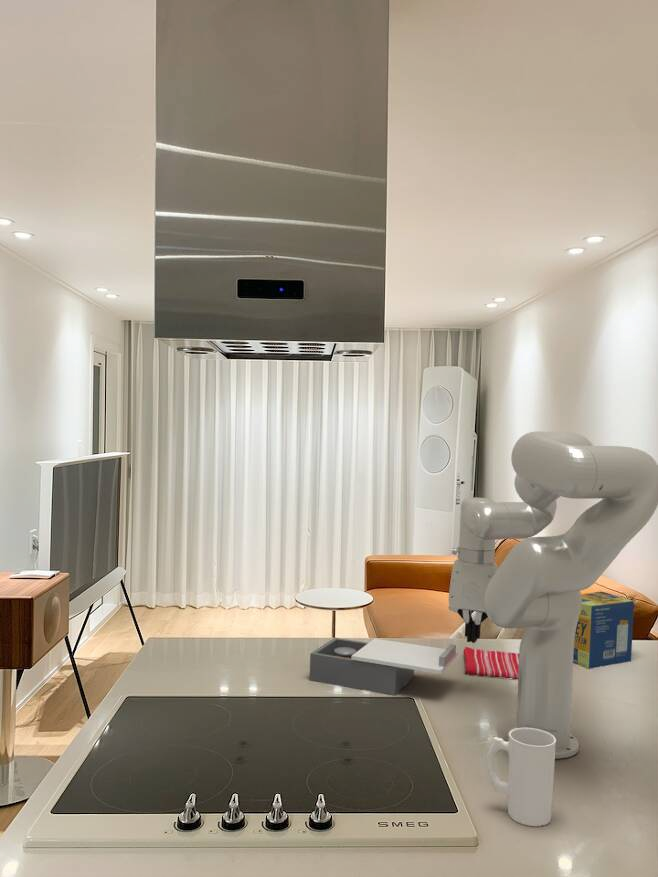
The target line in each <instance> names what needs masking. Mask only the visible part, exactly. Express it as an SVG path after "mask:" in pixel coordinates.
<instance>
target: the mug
mask: <svg viewBox="0 0 658 877" xmlns="http://www.w3.org/2000/svg"><path fill="white" fill-rule="evenodd" d="M555 743H556V738H555V737H554V736H553V735H552V734H550V733H548V732H546V731H543V730H540V729H535V728H516V729H513V730H511V731H510V732H509V741H508V740H507V741H505V740H504V738H501V737H498V736H494V738H493V742H492V743H491V745H490V747H489V748H488V751H487V754H486V758H485V759H486V760H485V764H486V770H487V774H488V777H489V780H490V783H491V786H492V789H493V791H494V792H497V793H498V792H499V793H502V794H504V795H506V797H507V798H508V799H507V800H508V801H507V802H508V804H507V810H508V811H507V813H508V815H509V817H510V818H511V819H512V821H515V822H516V823H518V824H520V825H524V826H528V827H543V826H547V825H548V824H549V823H550V822H551V820H552V812H553V809H552V808H553V797H554V794H553V793H554V776H555V761H556V759H555ZM501 750H504V751H506V752H507V753H508V781H503V780H500V778H499V777H498V776H497V774H496V770H495V767H494V758H495V755H496V753H498V751H501ZM542 825H543V826H542Z"/></svg>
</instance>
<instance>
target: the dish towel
mask: <svg viewBox="0 0 658 877" xmlns="http://www.w3.org/2000/svg"><path fill="white" fill-rule="evenodd" d="M462 652H463V656H464V662H465V664H464V670H465V671H464V675H466V674H469V675H468V676H474V675H478V676H477V677H483V676H489V677H488V678H494V677H505V678H512V679H511V680H516V679H518V670H519V652H518V653H517V652H508V651H498V650H485V649H477V648H472V647H468V646H465V647H464V649H463V651H462Z"/></svg>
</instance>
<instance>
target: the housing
mask: <svg viewBox="0 0 658 877" xmlns="http://www.w3.org/2000/svg"><path fill="white" fill-rule="evenodd" d="M368 643H369V642H364V641H358V640H352V639H346V638H345V639H344V638H339V637H333V638H332V639H330V640H329V641H327V642H326V643H324V644H323V645H321V646H320V647H318V648H317V649H315V650H314V651H312V652H310V654H309V656H310V657H309V658H310V659H309V681H312V682H317V683H322V684H329V685H334V686H335V685H336V686H340V687H345V688H352V689H356V690H362V691H369V692H374V693H379V694H384V695H388V696H389V695H390V696H391V695H392V696H396V695H397V694H398V693H399V692H400V691H401V690H402V689H403V688H404V686H406V685H407V684H408V683H409V681H410V680H412V678H413V677H414V676H415V670H412V669H406V668H400V667H394V666H388V665H382V664H376V663H370V662H363V661H357V660H351V659H350V658H344V657H338V656H335V653H334V649H336V648H339V647H348V648H353V649H355V650H356V652H357V651H359V650H360V649H361V648H363V647H364V646H365V645H367V644H368Z"/></svg>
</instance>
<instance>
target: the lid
mask: <svg viewBox="0 0 658 877" xmlns="http://www.w3.org/2000/svg"><path fill="white" fill-rule="evenodd" d="M367 643H368V644H367V645H365V646H364V647H363V648H361V649H360V650H359V651H357V652H356V653H355V654H353V655H352V657H351V660H357V661H363V662H370V663H376V664H382V665H388V666H394V667H400V668H406V669H412V670H414V671H418V672H419V671H420V672H426V673H433V674H438V675H442V674H443V673H444V672H445V670H446V669H447V668H448V667H449V666H450V665H451V664H452V662H453V661H454V660H456V658H457V657H458V655H459V650H457V644H452V643H450V645H449V646H448V647H447V648H441V647H440V648H439V647H433V646H428V645H426V646H425V645H421V644H413V643H407V642H402V641H401V642H400V641H393V640H385V639H381V638H380V639H379V638H373V639H372V640H371V641H370V642H367Z"/></svg>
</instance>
